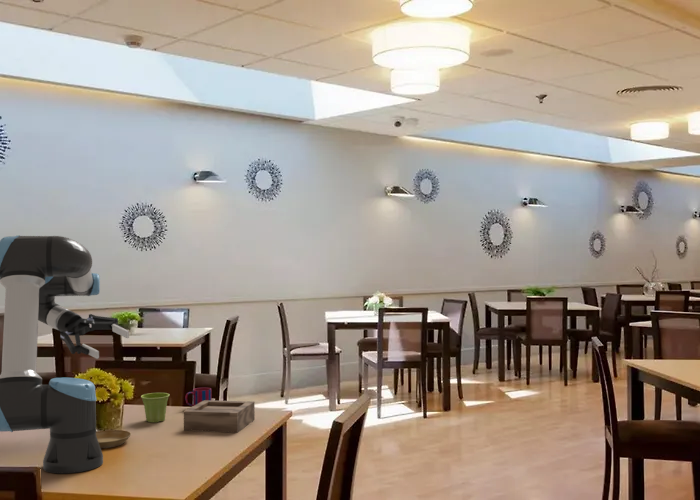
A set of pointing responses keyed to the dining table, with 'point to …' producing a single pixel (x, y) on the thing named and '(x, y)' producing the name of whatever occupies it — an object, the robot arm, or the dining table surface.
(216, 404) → the walnut plant stand
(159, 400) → the plant pot
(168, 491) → the dining table surface
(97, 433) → the plant saucer
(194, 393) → the mug
